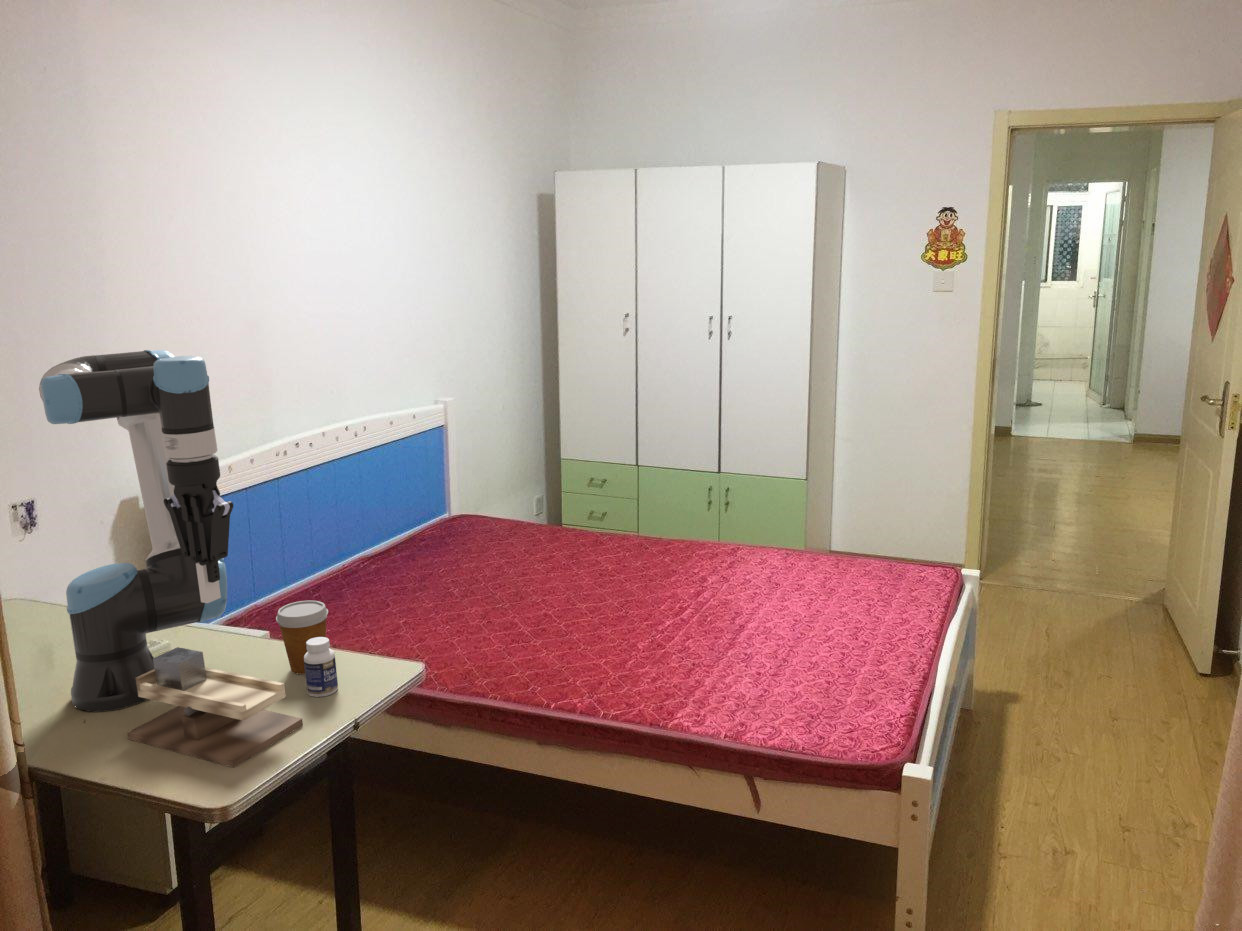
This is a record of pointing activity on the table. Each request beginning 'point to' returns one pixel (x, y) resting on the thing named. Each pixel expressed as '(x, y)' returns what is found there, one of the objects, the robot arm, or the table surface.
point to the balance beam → (216, 694)
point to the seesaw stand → (215, 734)
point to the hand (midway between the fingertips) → (211, 599)
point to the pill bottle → (320, 668)
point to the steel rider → (180, 668)
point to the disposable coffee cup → (301, 629)
